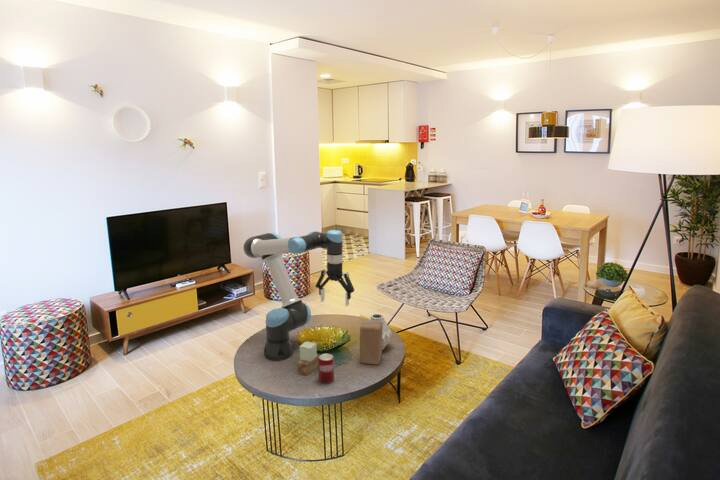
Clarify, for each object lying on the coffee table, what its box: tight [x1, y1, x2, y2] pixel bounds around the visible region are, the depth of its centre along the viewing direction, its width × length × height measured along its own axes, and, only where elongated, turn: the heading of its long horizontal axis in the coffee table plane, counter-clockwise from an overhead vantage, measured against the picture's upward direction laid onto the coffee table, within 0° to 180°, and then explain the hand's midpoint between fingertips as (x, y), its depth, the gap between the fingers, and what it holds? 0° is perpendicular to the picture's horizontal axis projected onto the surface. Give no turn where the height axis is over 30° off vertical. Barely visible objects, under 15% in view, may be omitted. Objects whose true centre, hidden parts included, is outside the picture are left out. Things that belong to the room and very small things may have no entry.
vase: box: [368, 313, 393, 351], centre depth 250 cm, size 16×16×18 cm
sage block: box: [299, 341, 318, 362], centre depth 227 cm, size 6×6×7 cm
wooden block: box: [359, 319, 383, 366], centre depth 236 cm, size 10×10×20 cm
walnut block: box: [297, 353, 320, 377], centre depth 228 cm, size 5×12×6 cm, turn 157°
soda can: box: [317, 353, 335, 385], centre depth 217 cm, size 7×7×12 cm
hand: (334, 303), depth 231 cm, fingers open, 13 cm apart
